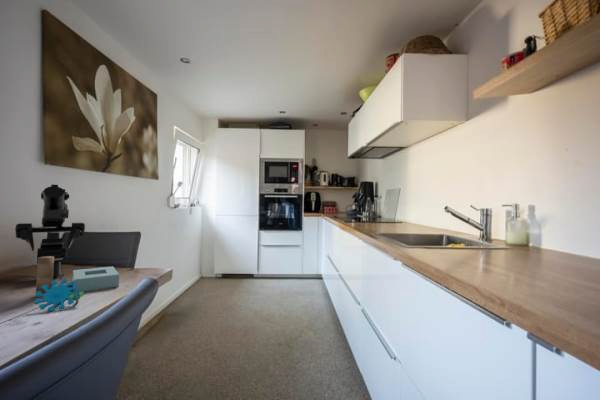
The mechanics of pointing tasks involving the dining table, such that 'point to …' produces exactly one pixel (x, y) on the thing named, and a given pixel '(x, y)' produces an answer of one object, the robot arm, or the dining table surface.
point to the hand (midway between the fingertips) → (50, 249)
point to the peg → (44, 273)
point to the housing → (95, 278)
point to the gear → (58, 295)
